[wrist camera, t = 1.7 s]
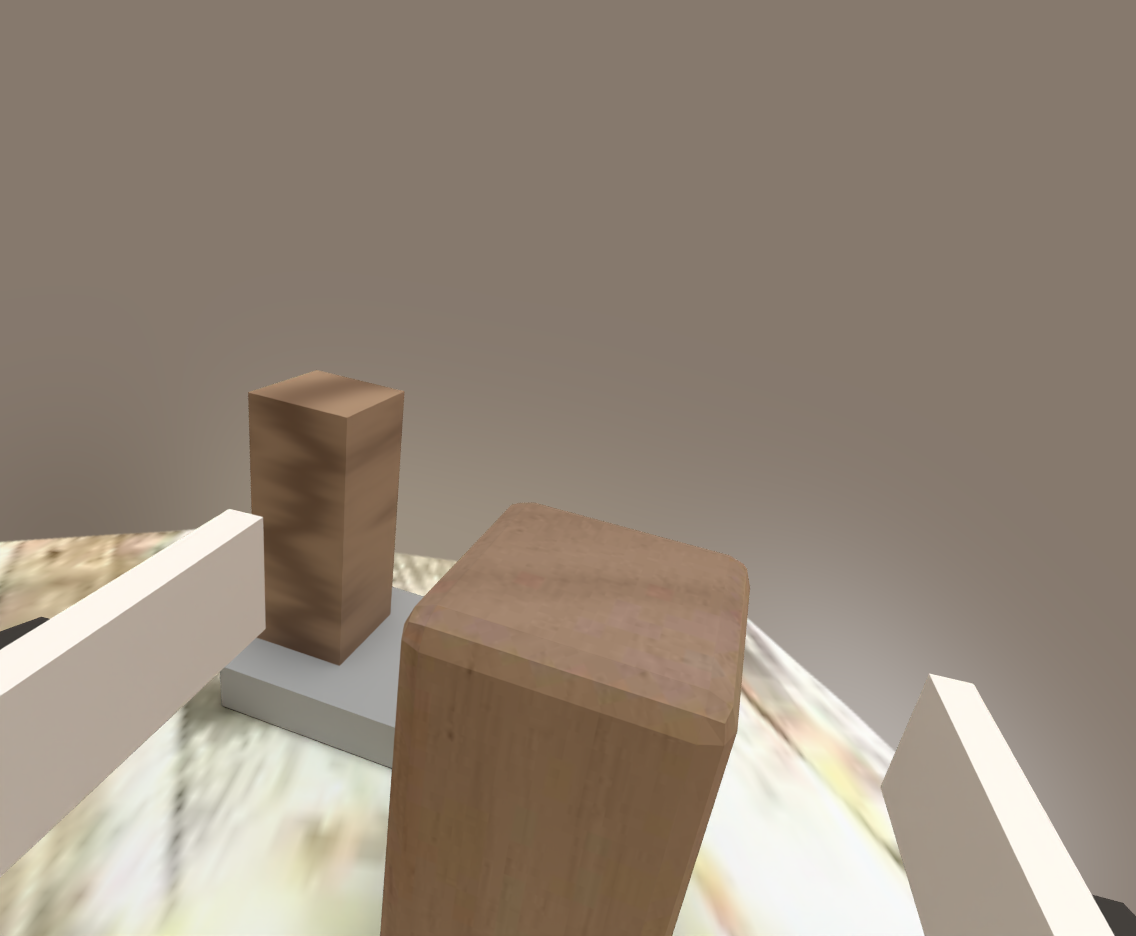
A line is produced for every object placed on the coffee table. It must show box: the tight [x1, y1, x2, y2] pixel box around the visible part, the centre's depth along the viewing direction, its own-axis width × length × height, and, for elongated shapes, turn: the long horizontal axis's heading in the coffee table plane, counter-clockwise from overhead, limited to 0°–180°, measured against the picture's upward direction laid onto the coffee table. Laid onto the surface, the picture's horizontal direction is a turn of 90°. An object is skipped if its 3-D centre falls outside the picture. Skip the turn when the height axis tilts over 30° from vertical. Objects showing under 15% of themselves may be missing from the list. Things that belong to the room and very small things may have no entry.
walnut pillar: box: [248, 370, 404, 666], centre depth 42 cm, size 6×6×16 cm
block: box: [380, 503, 750, 936], centre depth 26 cm, size 10×10×20 cm
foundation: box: [220, 587, 424, 768], centre depth 43 cm, size 24×12×3 cm, turn 74°
